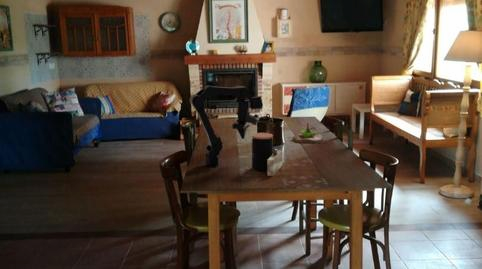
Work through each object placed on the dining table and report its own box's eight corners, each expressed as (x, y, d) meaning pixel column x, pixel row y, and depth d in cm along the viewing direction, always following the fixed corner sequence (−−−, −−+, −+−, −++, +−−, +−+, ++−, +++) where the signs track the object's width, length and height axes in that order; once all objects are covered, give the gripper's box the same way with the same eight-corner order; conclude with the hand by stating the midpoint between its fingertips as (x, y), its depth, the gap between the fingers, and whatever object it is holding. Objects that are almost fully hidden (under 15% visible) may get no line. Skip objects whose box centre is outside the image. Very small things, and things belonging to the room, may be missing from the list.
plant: (323, 137, 312) (323, 120, 310) (323, 144, 293) (324, 126, 291) (292, 136, 315) (293, 120, 313) (291, 143, 296) (292, 126, 294)
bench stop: (267, 175, 231) (267, 153, 228) (276, 164, 249) (277, 144, 247) (273, 176, 230) (273, 154, 227) (282, 164, 248) (282, 144, 246)
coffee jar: (257, 165, 248) (257, 132, 244) (275, 167, 244) (276, 133, 240) (248, 170, 239) (248, 136, 235) (267, 173, 234) (267, 138, 230)
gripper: (252, 114, 236) (252, 143, 240) (262, 108, 254) (262, 136, 257) (231, 112, 240) (232, 142, 243) (242, 107, 257) (242, 134, 261)
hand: (243, 138), depth 251 cm, fingers closed
